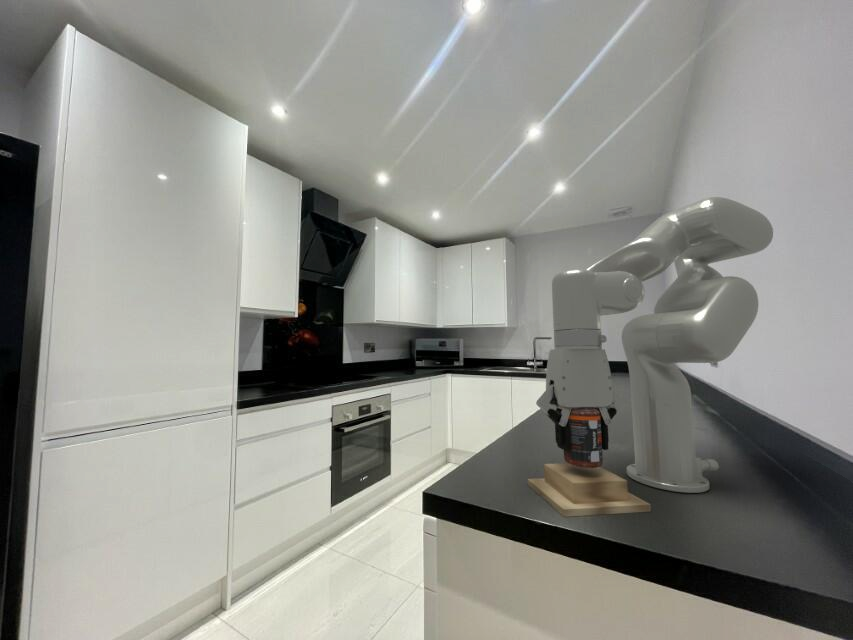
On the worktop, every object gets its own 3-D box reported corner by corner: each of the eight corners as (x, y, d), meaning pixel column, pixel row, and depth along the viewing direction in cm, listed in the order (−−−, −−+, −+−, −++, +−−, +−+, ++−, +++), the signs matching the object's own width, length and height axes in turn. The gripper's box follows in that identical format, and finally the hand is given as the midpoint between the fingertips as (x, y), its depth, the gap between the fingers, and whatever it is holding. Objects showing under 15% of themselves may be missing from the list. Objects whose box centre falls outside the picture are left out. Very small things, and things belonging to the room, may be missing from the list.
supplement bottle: (608, 470, 51) (604, 397, 53) (568, 468, 53) (564, 396, 54) (597, 459, 57) (593, 393, 58) (560, 457, 58) (557, 392, 60)
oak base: (599, 481, 61) (597, 459, 62) (651, 511, 49) (649, 483, 50) (527, 484, 59) (527, 461, 60) (564, 516, 47) (563, 487, 48)
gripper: (607, 342, 62) (613, 441, 60) (521, 342, 60) (524, 444, 58) (638, 340, 55) (646, 453, 53) (540, 340, 52) (545, 457, 50)
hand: (582, 447), depth 55 cm, fingers closed on supplement bottle, 5 cm apart
